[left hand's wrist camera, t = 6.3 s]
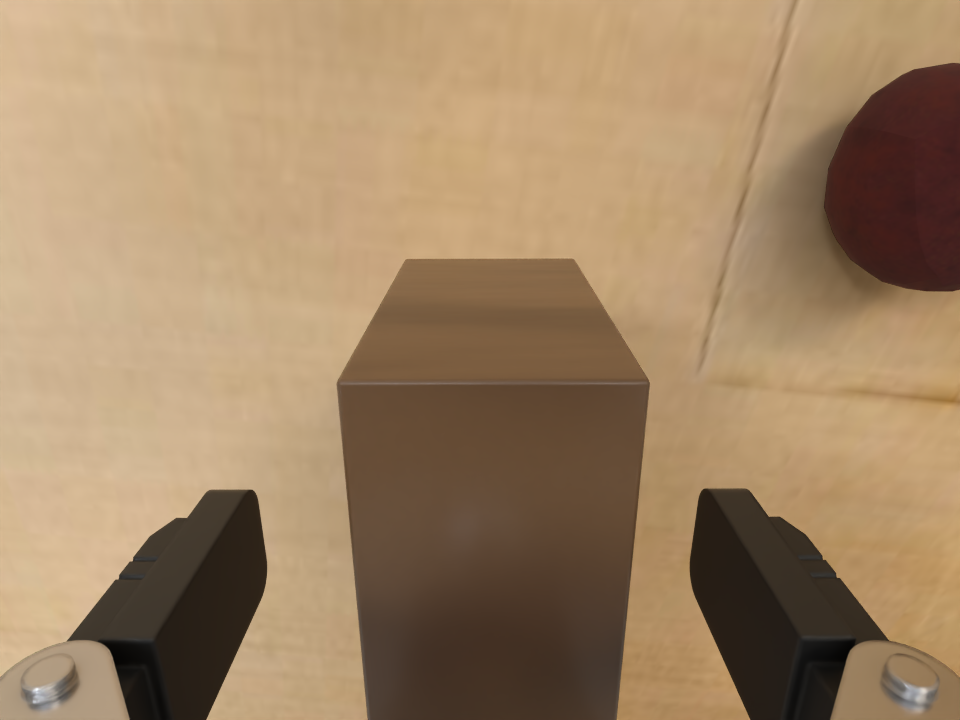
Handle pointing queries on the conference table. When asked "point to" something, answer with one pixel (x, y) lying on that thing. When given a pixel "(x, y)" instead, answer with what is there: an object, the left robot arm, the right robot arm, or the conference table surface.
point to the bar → (492, 492)
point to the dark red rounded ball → (902, 182)
